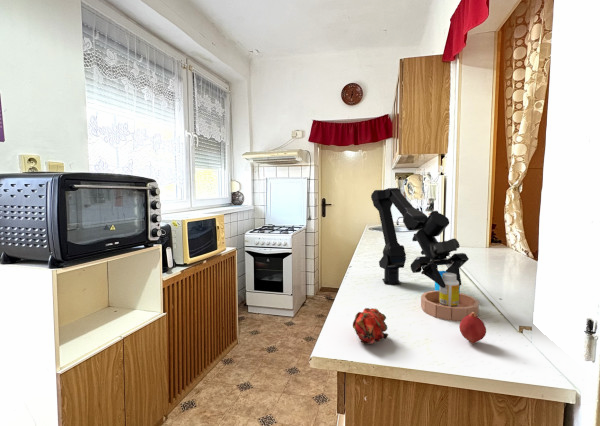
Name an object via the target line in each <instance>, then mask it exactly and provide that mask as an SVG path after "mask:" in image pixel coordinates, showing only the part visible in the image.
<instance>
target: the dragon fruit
mask: <svg viewBox="0 0 600 426" xmlns="http://www.w3.org/2000/svg"><path fill="white" fill-rule="evenodd" d="M381 312H382V311H381ZM381 312H380V311H379V309H378V308H370V307H365V308H364V309H363V310H362V311H358V312H357V313H356V314H355V316H354V320H353V322H352V328H353V330H354V331H355V333H356V335H357V336H358V339H359V340H360V342H361V343H362V344H363V345H364V346H366V345H367V344H370V345H371V344H372V345H373V344H376V342H380V341H382V340H386V339H387V338H388V337H389V334H388V333H387V332H386V331H387V330H388V325H387V324H386V322H385V321H386V319H387V317H386V315H385V314H384V313H381Z"/></svg>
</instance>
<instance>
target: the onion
mask: <svg viewBox="0 0 600 426" xmlns="http://www.w3.org/2000/svg"><path fill="white" fill-rule="evenodd" d="M459 331H460V333H461V335H462V337H463V338H464V339H466V341H468V342H469V343H470V344H473V345H474V344H476V343H478V342H479V341H481V340H483V339H484V338H485V336H486V334H487V327H486V325H485V323H484V321H483V320H482V319H481V318H480V317H479V316H478V317H477V316H476V315H475V313H474V312H472V313H471V314H470V315H467V316H465V317H464V318H463V319H462V321H459Z"/></svg>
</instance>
